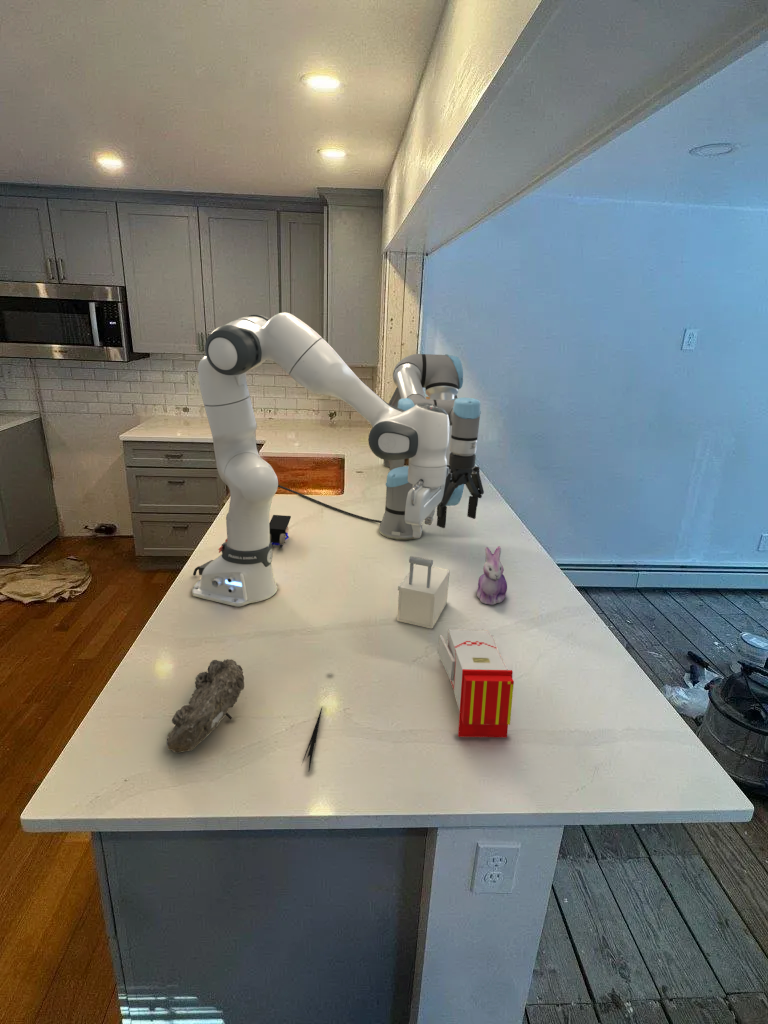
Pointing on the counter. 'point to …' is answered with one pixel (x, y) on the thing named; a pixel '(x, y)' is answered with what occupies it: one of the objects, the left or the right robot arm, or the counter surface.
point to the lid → (423, 578)
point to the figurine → (492, 579)
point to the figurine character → (279, 529)
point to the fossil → (206, 705)
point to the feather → (313, 740)
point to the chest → (422, 607)
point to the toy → (478, 682)
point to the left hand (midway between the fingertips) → (422, 530)
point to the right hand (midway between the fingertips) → (456, 522)
